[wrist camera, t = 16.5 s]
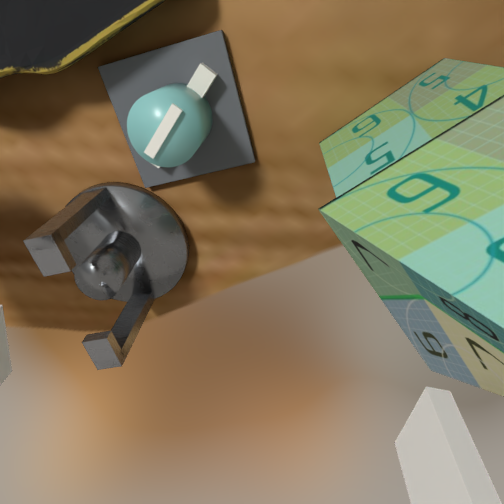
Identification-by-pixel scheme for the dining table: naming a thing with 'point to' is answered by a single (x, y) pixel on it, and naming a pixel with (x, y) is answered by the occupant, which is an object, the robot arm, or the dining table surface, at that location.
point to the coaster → (181, 71)
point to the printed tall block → (431, 213)
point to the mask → (60, 31)
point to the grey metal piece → (114, 256)
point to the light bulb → (172, 120)
